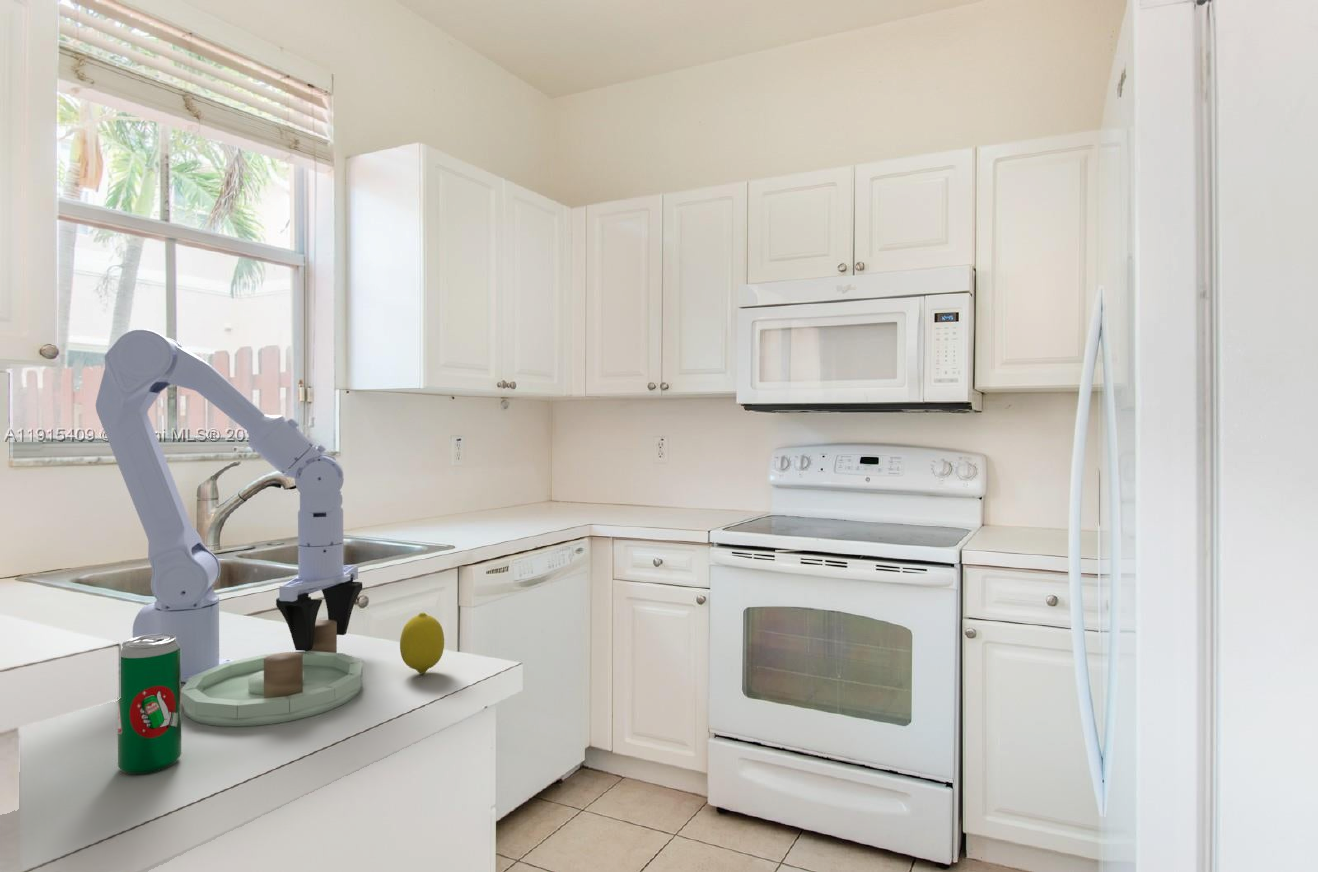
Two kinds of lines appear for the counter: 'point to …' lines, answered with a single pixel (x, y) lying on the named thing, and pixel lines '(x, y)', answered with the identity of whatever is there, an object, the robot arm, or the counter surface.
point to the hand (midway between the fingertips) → (321, 641)
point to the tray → (240, 691)
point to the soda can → (149, 704)
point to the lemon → (422, 642)
